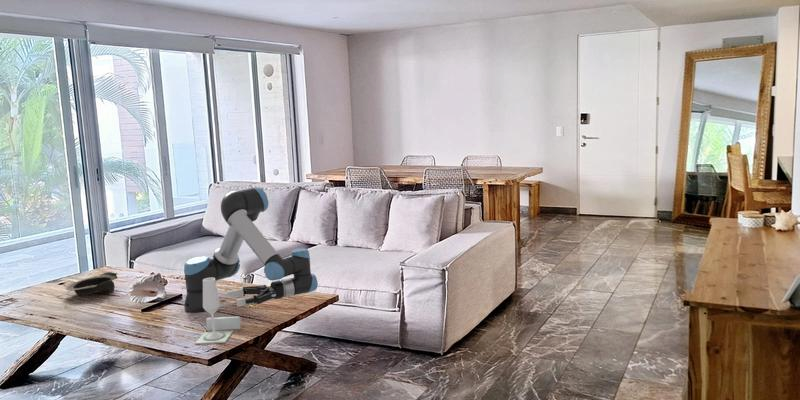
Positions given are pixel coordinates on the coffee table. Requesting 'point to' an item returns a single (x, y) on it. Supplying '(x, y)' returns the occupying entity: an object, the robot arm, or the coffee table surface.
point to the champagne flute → (211, 303)
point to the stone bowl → (94, 284)
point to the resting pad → (212, 341)
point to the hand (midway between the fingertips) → (232, 299)
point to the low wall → (224, 323)
